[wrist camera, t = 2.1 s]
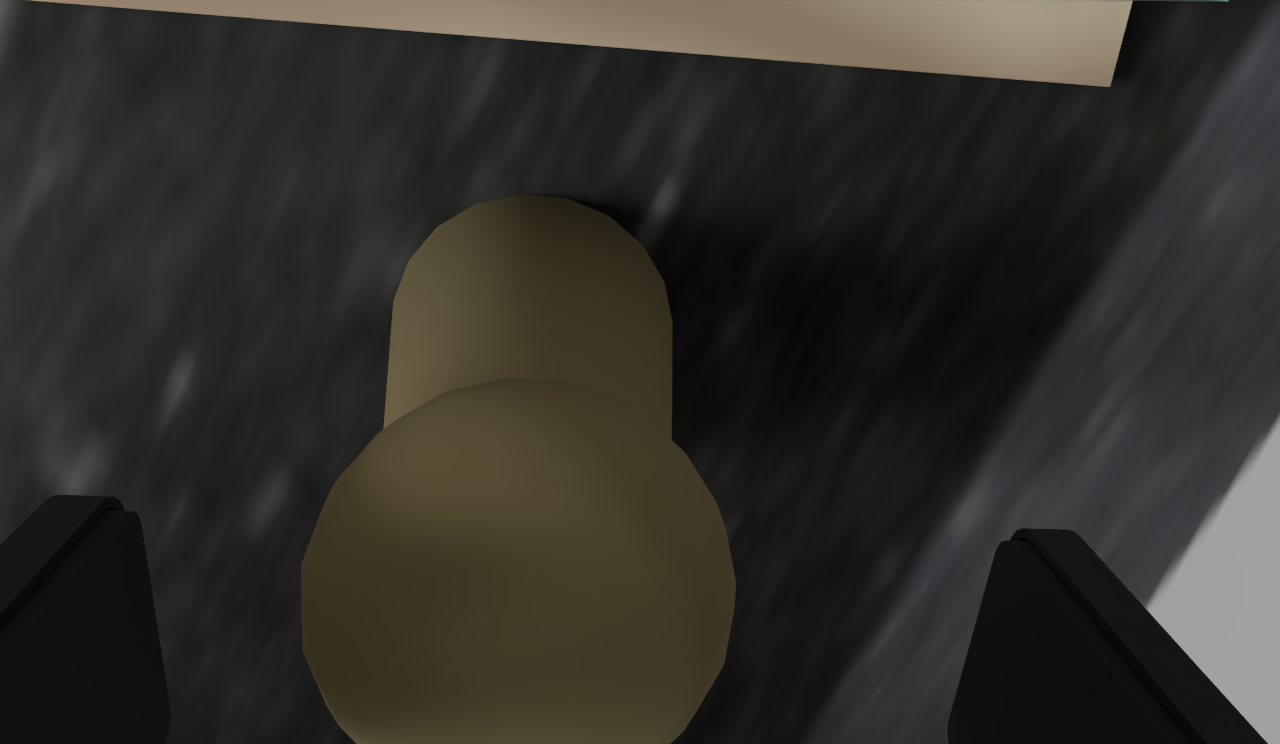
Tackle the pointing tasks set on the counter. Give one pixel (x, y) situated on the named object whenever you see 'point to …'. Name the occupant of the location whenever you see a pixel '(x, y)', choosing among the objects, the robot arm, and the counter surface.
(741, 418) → the counter surface
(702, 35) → the socket board
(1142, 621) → the robot arm
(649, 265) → the cork
